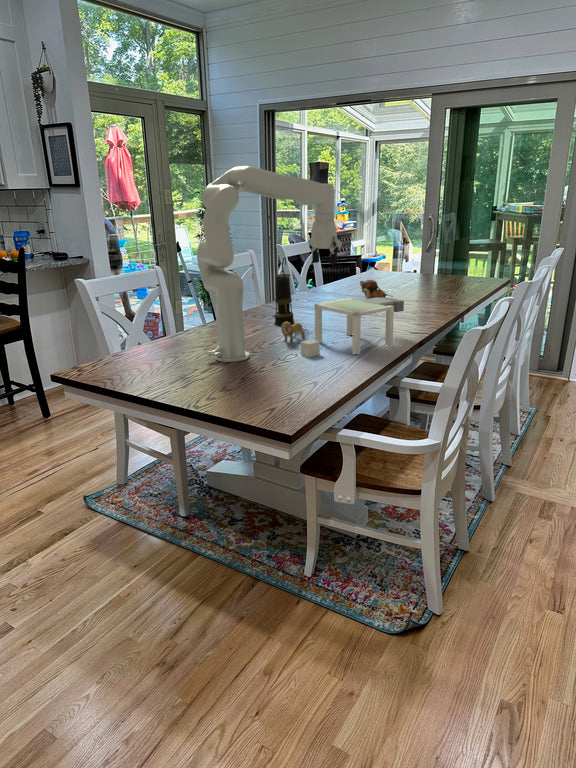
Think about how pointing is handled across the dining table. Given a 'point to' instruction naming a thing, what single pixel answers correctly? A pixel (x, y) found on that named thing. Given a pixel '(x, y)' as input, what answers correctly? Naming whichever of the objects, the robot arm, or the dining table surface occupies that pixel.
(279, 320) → the lantern
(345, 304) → the trapdoor plate
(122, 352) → the dining table surface
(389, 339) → the trapdoor frame
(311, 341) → the stone block
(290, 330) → the lion figurine
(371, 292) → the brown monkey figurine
